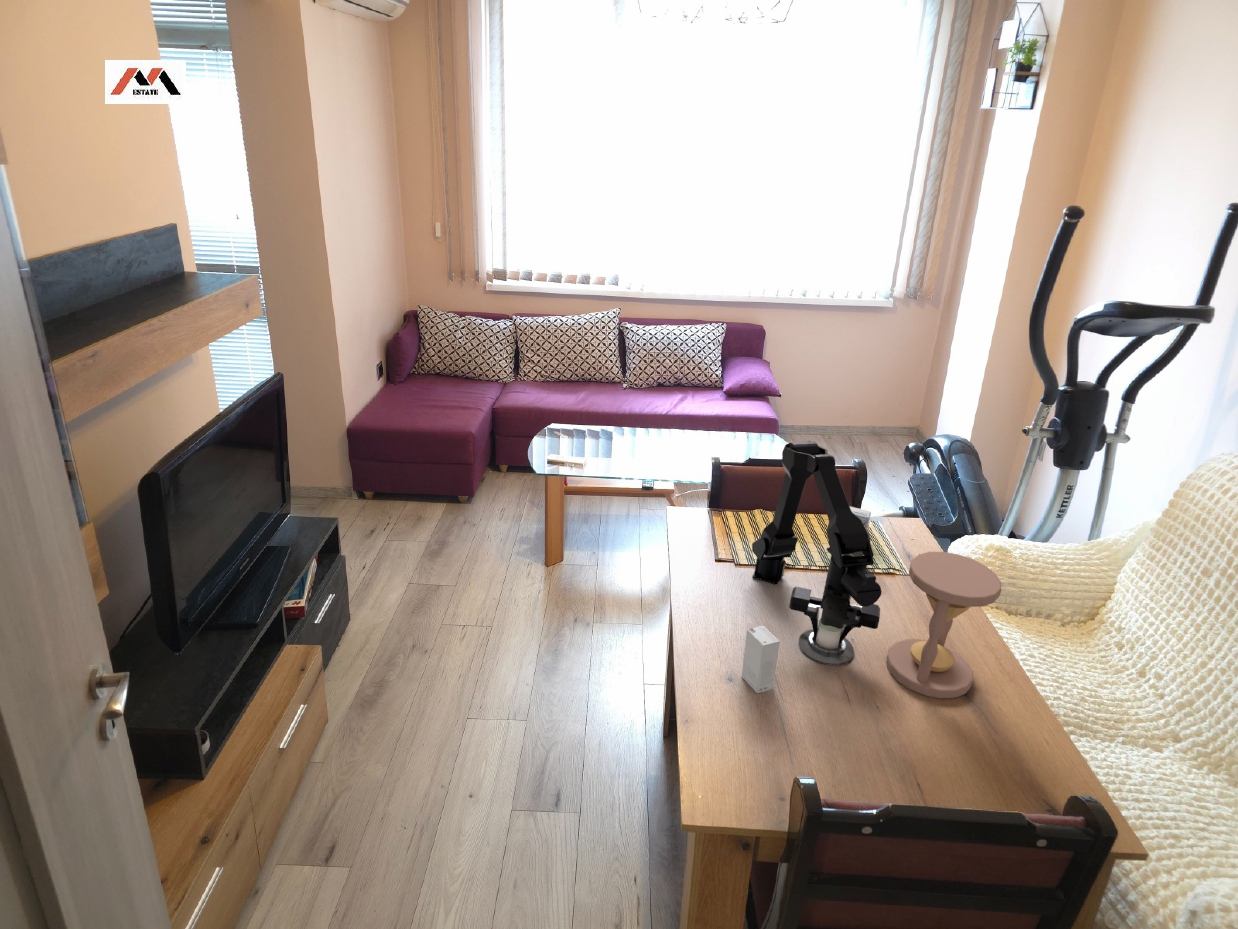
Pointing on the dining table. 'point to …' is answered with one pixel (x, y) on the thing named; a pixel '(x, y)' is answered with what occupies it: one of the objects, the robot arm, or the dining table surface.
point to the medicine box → (862, 515)
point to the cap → (827, 637)
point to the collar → (822, 655)
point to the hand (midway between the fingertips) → (827, 639)
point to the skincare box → (760, 659)
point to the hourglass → (942, 623)
